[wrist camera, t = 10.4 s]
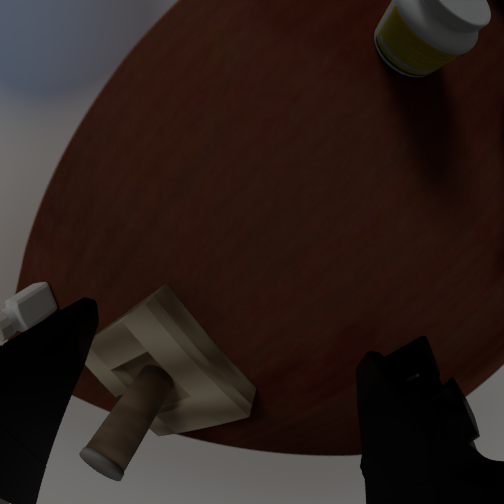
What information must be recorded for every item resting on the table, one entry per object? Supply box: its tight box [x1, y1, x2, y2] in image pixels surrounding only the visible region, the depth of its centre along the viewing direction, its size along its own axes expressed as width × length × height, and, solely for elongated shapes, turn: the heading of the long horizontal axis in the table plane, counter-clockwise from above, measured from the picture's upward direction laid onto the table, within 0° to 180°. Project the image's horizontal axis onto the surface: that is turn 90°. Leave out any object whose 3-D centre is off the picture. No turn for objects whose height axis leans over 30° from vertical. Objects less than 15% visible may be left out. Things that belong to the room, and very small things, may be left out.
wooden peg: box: [80, 365, 174, 481], centre depth 20 cm, size 4×4×12 cm
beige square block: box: [85, 284, 256, 436], centre depth 26 cm, size 14×14×4 cm
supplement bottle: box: [374, 0, 491, 77], centre depth 10 cm, size 5×5×10 cm
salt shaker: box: [0, 282, 57, 342], centre depth 25 cm, size 4×4×10 cm
